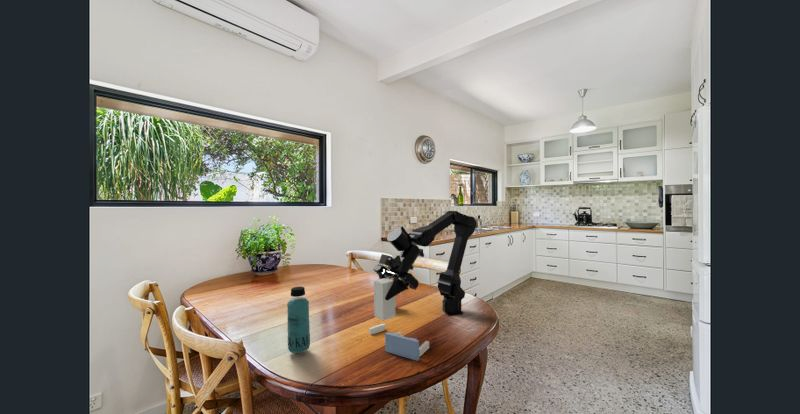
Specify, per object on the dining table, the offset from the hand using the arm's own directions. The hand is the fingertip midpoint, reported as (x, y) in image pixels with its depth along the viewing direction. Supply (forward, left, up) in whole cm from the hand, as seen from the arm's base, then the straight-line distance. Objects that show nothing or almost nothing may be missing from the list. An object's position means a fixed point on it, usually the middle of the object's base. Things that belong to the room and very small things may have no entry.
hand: (381, 297), depth 106 cm
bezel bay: (-6, +10, -13) cm, 18 cm away
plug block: (-1, -1, -7) cm, 7 cm away
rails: (-1, -1, -13) cm, 14 cm away
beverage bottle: (+26, +3, -14) cm, 29 cm away
